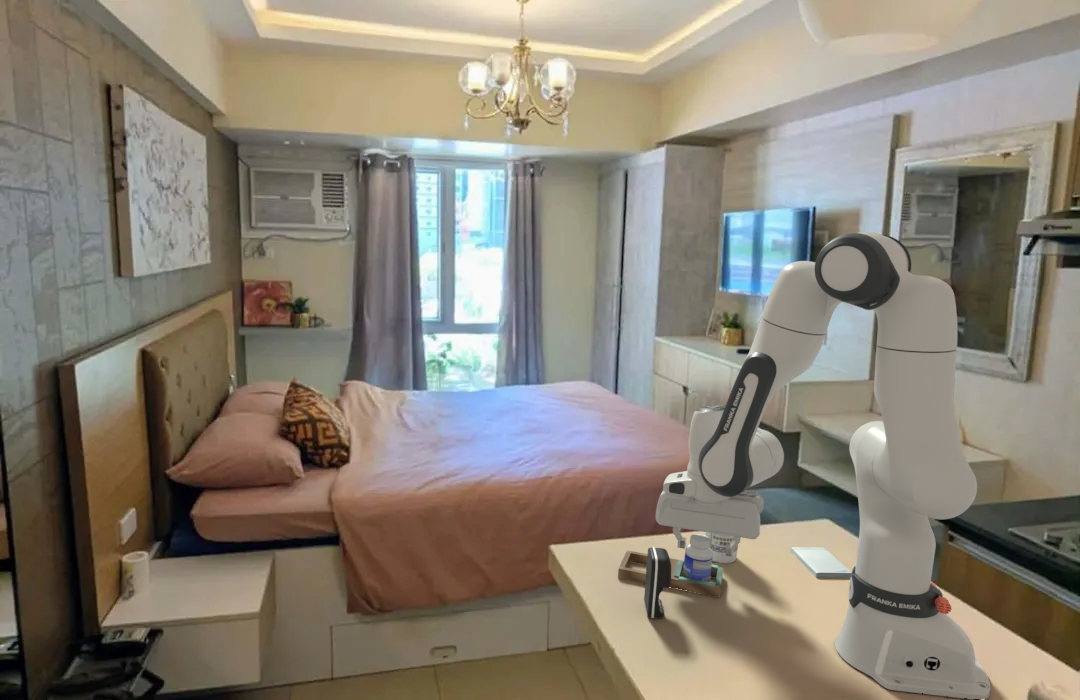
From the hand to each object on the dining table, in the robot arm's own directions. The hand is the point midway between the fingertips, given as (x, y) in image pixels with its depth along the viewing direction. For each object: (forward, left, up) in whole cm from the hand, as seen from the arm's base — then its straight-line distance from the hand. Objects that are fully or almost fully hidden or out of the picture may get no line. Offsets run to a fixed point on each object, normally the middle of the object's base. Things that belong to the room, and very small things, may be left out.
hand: (705, 551), depth 136 cm
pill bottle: (+1, +1, -7) cm, 7 cm away
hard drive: (-24, -19, -8) cm, 31 cm away
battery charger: (+7, +15, -7) cm, 18 cm away
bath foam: (-3, -13, -7) cm, 15 cm away
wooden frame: (+6, +1, -7) cm, 9 cm away
